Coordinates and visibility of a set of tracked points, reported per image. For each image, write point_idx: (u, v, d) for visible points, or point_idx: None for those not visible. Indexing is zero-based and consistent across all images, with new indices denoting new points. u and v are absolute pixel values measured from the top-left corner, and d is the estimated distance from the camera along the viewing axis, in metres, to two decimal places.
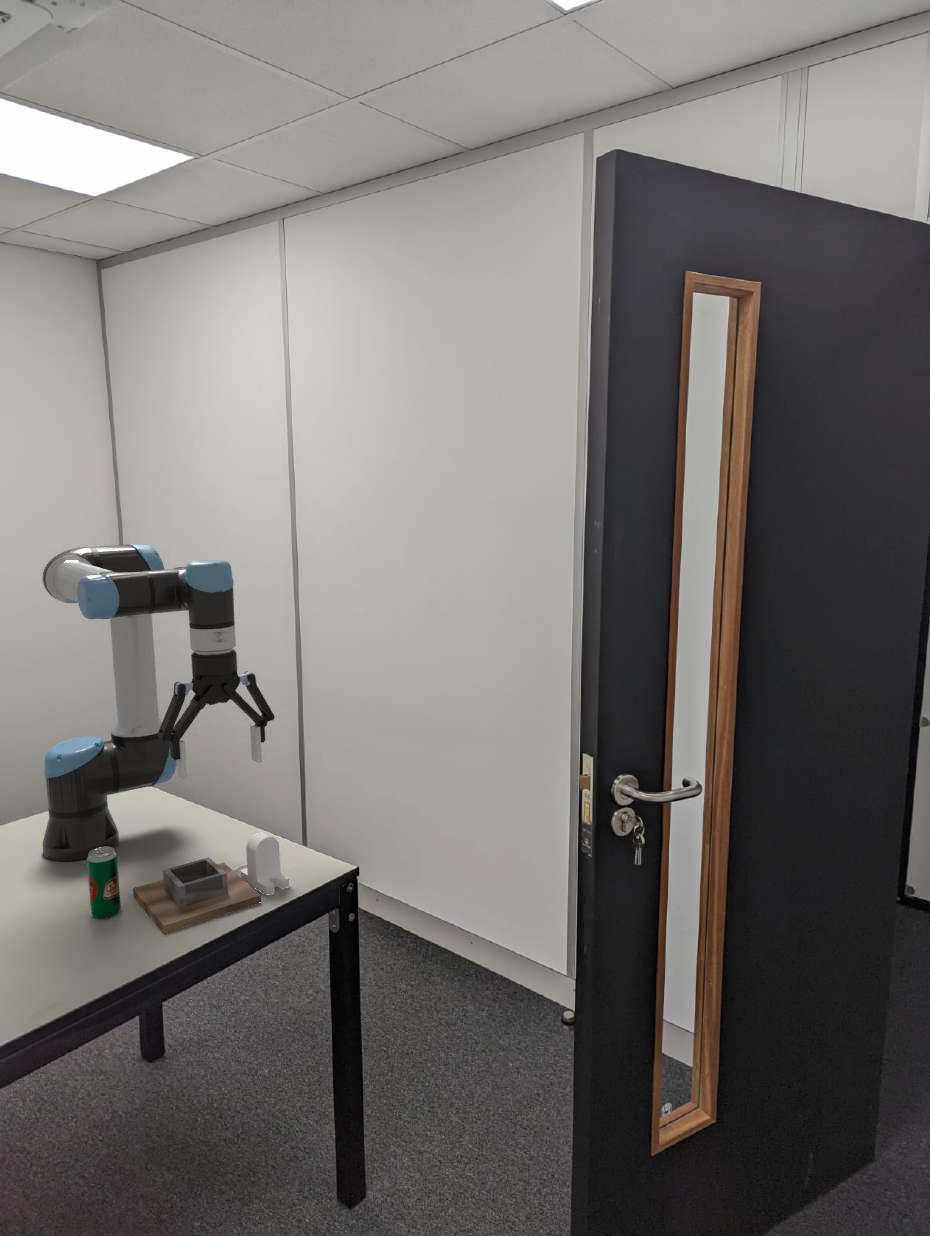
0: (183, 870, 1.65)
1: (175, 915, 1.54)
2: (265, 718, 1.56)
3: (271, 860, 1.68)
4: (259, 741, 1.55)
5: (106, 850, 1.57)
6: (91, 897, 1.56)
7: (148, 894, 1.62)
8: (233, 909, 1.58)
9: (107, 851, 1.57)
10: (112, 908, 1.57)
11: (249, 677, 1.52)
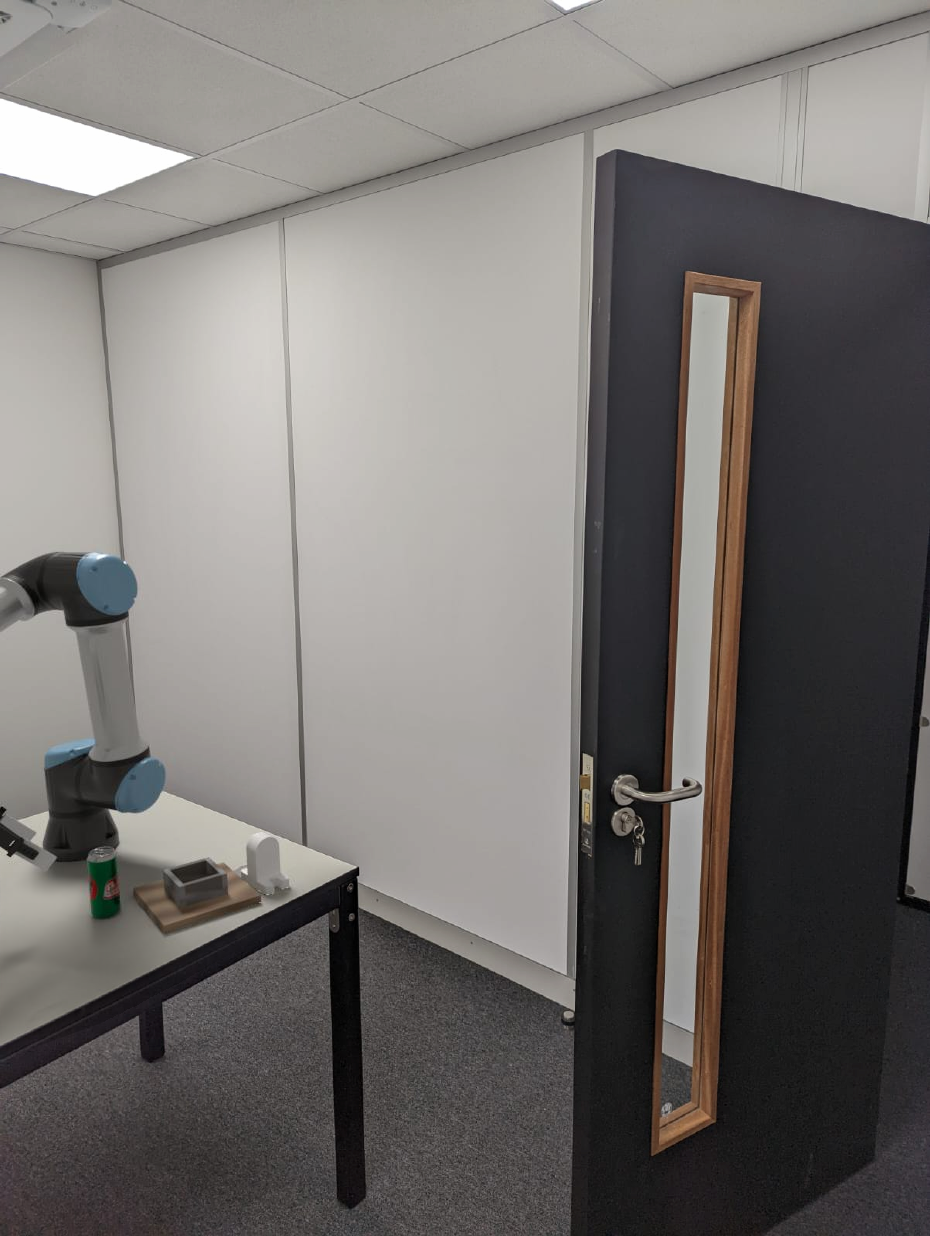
0: (183, 870, 1.65)
1: (175, 915, 1.54)
2: None
3: (271, 860, 1.68)
4: None
5: (106, 850, 1.57)
6: (91, 897, 1.56)
7: (148, 894, 1.62)
8: (233, 909, 1.58)
9: (107, 851, 1.57)
10: (112, 908, 1.57)
11: None
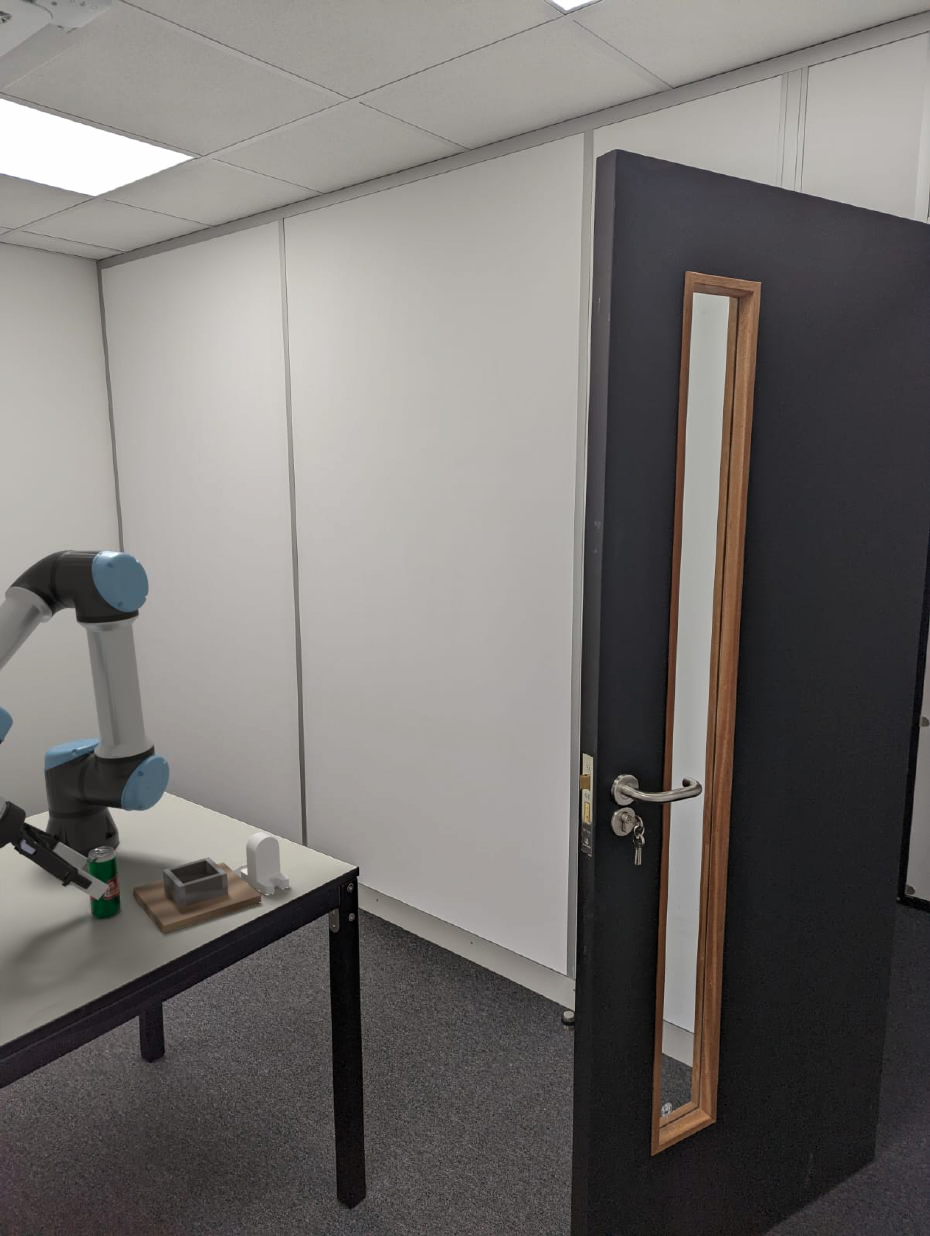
0: (183, 870, 1.65)
1: (175, 915, 1.54)
2: None
3: (271, 860, 1.68)
4: None
5: (106, 850, 1.57)
6: (91, 897, 1.56)
7: (148, 894, 1.62)
8: (233, 909, 1.58)
9: (107, 851, 1.57)
10: (112, 908, 1.57)
11: None
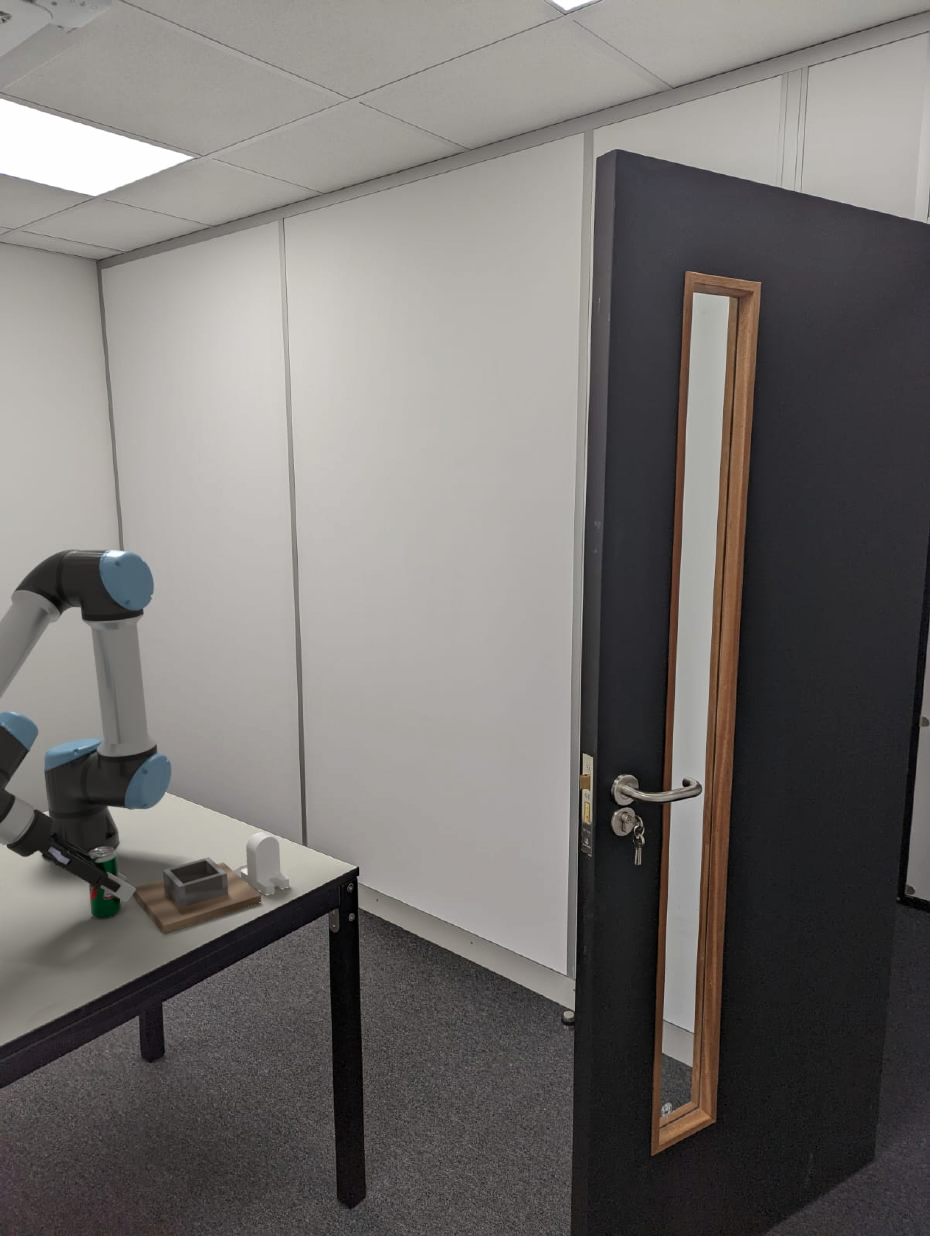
0: (183, 870, 1.65)
1: (175, 915, 1.54)
2: None
3: (271, 860, 1.68)
4: (109, 892, 1.55)
5: (106, 850, 1.57)
6: (91, 897, 1.56)
7: (148, 894, 1.62)
8: (233, 909, 1.58)
9: (107, 851, 1.57)
10: (112, 908, 1.57)
11: None
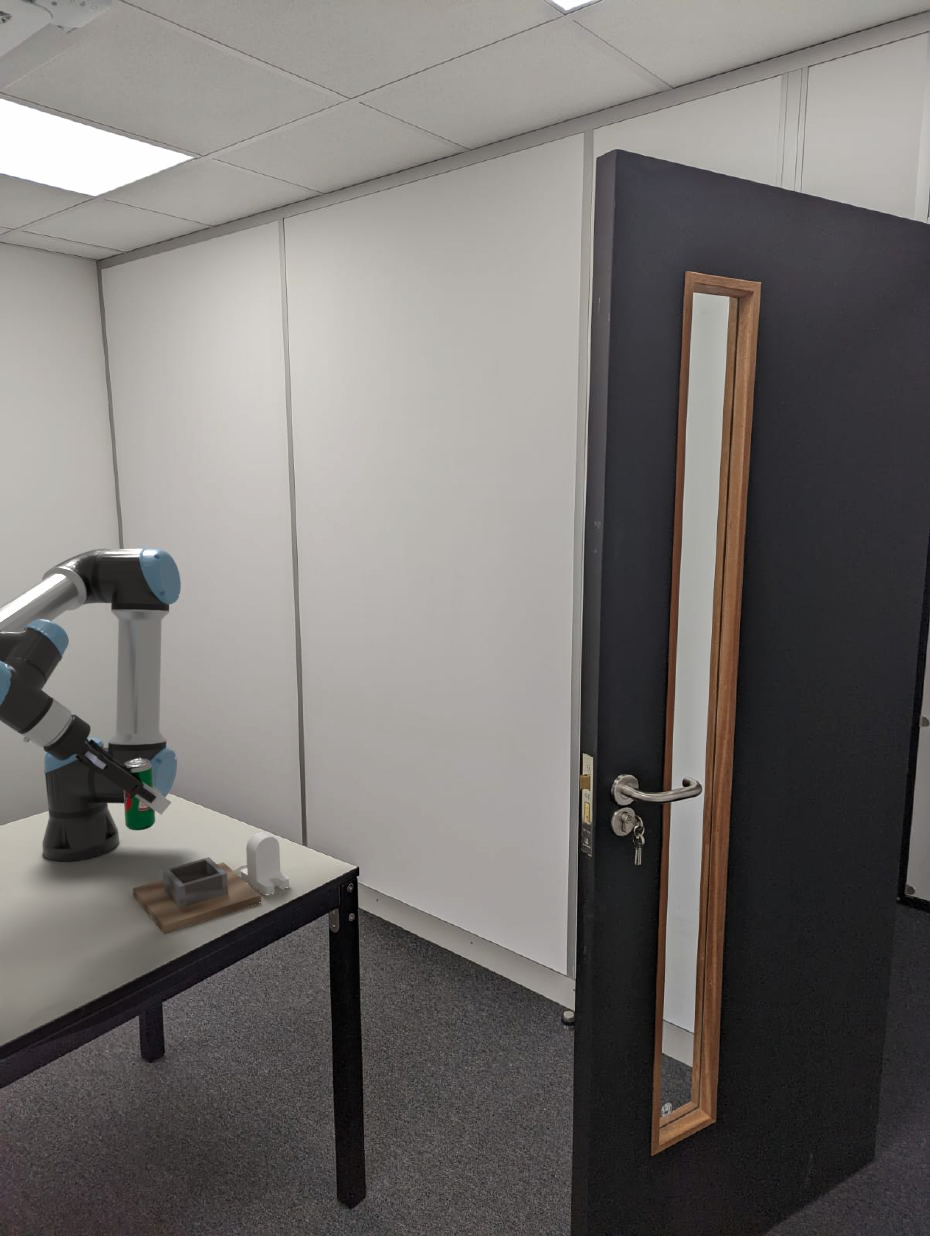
0: (183, 870, 1.65)
1: (175, 915, 1.54)
2: None
3: (271, 860, 1.68)
4: None
5: (142, 761, 1.55)
6: (126, 808, 1.54)
7: (148, 894, 1.62)
8: (233, 909, 1.58)
9: (143, 762, 1.55)
10: (147, 820, 1.55)
11: (91, 766, 1.45)
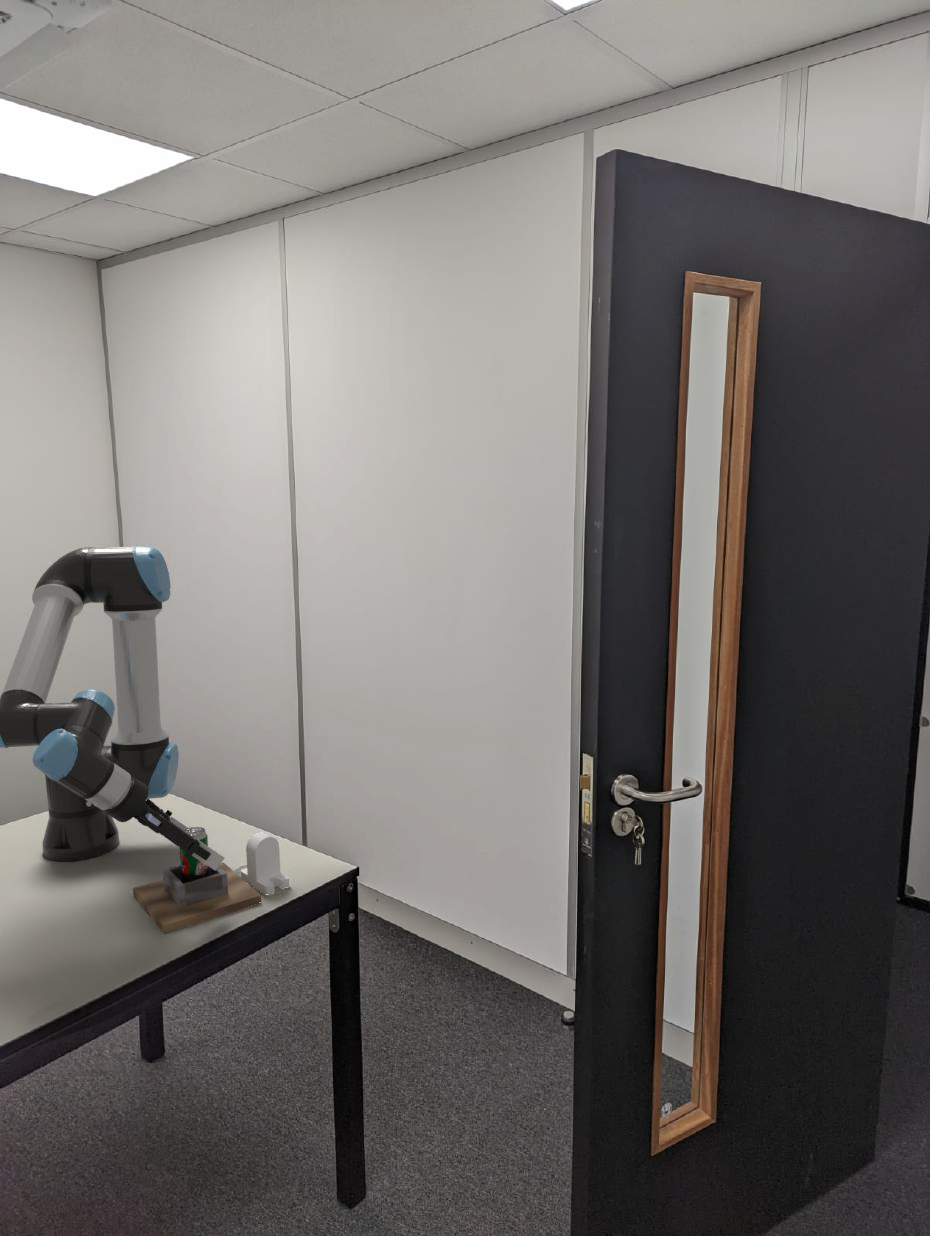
0: None
1: (175, 915, 1.54)
2: None
3: (271, 860, 1.68)
4: None
5: (197, 830, 1.62)
6: (182, 875, 1.60)
7: (148, 894, 1.62)
8: (233, 909, 1.58)
9: (198, 831, 1.62)
10: None
11: None
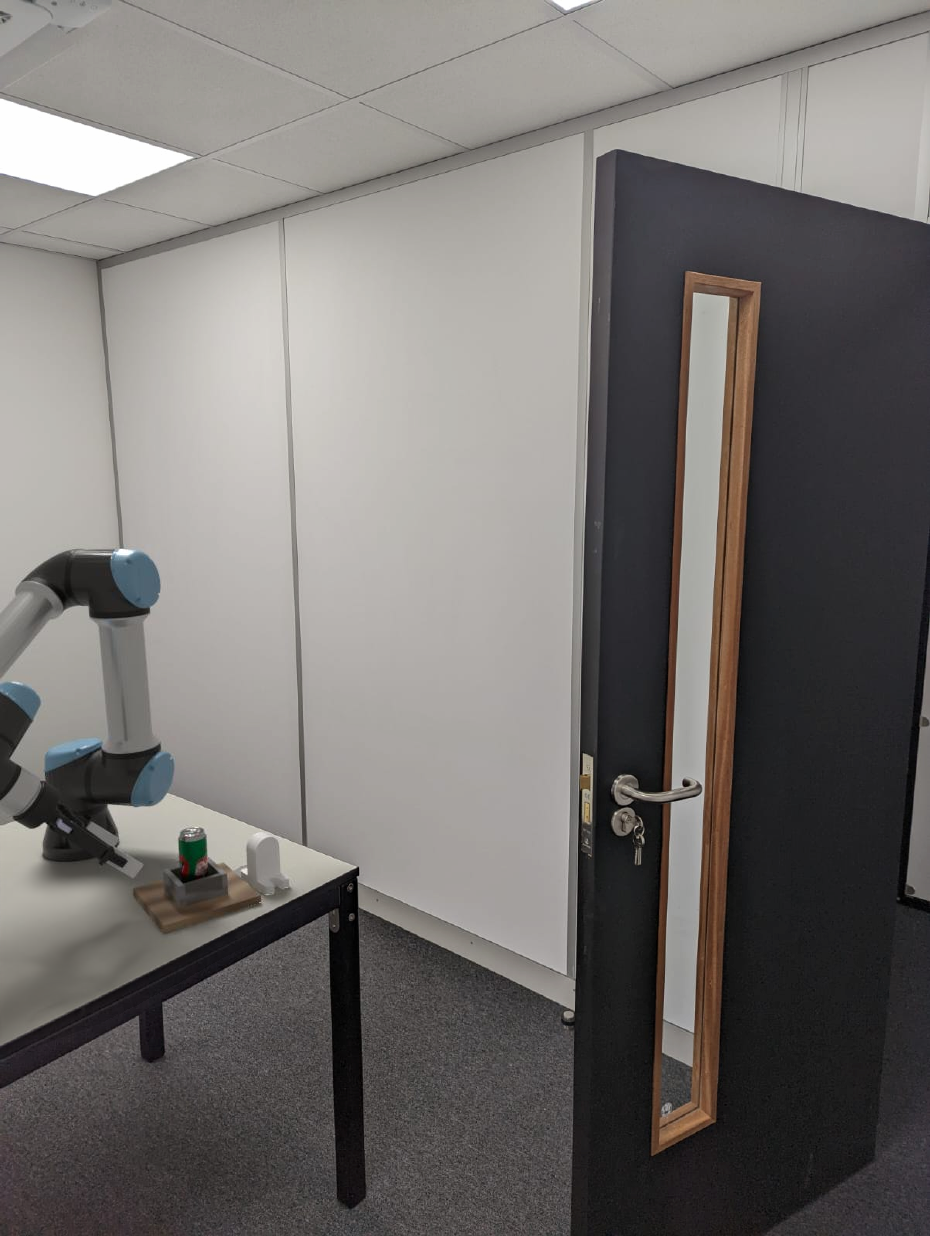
0: None
1: (175, 915, 1.54)
2: None
3: (271, 860, 1.68)
4: (115, 867, 1.48)
5: (196, 830, 1.62)
6: (182, 876, 1.60)
7: (148, 894, 1.62)
8: (233, 909, 1.58)
9: (197, 831, 1.62)
10: None
11: None
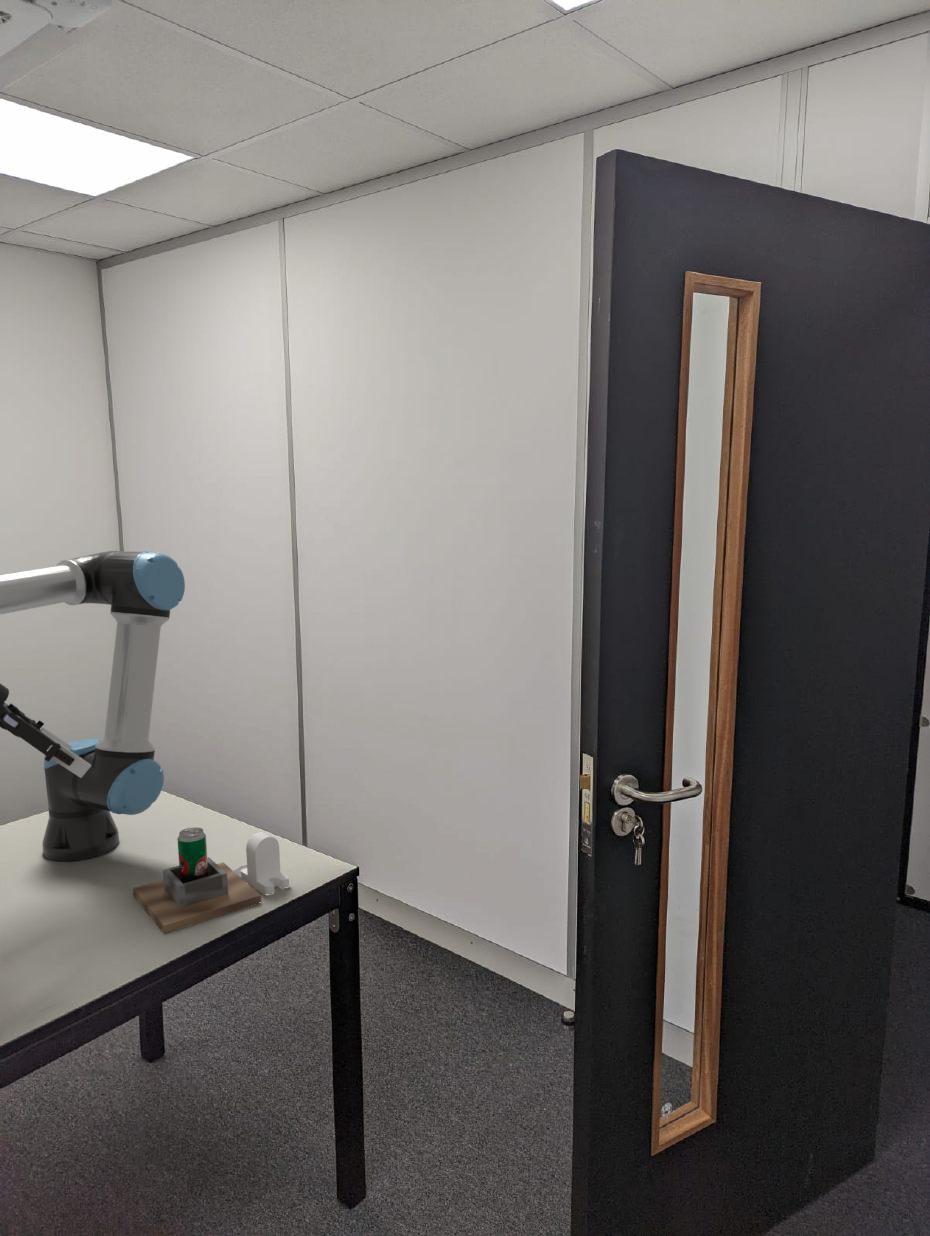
0: None
1: (175, 915, 1.54)
2: None
3: (271, 860, 1.68)
4: (62, 766, 1.50)
5: (195, 830, 1.62)
6: (182, 876, 1.60)
7: (148, 894, 1.62)
8: (233, 909, 1.58)
9: (196, 831, 1.62)
10: None
11: None
